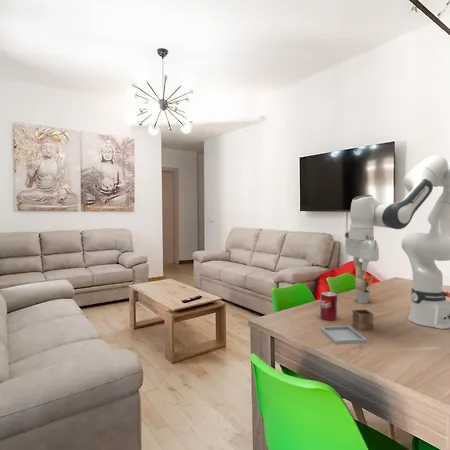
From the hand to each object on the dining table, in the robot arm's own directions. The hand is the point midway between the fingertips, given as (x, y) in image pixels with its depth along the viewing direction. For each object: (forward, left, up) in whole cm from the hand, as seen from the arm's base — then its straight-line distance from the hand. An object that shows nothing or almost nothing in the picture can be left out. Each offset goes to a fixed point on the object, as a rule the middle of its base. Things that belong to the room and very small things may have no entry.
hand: (360, 268), depth 130 cm
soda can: (+7, -14, -26) cm, 30 cm away
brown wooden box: (-2, -1, -26) cm, 26 cm away
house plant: (-23, -37, -26) cm, 50 cm away
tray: (+10, +6, -26) cm, 28 cm away
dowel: (0, 0, -9) cm, 9 cm away
